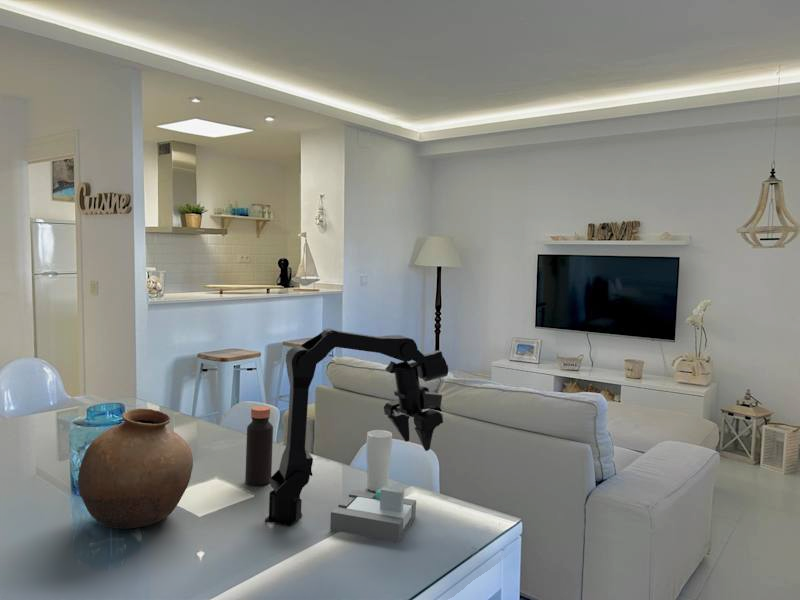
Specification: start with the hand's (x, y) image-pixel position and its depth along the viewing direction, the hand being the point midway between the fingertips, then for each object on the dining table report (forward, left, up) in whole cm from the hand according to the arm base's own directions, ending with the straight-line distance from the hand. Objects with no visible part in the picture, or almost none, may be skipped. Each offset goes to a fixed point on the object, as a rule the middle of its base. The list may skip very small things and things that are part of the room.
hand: (417, 445), depth 148 cm
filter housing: (-6, -15, -15) cm, 22 cm away
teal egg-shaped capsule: (-6, -9, -12) cm, 16 cm away
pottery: (-55, -35, -15) cm, 66 cm away
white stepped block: (-4, -15, -13) cm, 20 cm away
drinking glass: (-12, +5, -15) cm, 20 cm away
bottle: (-43, -3, -15) cm, 45 cm away
